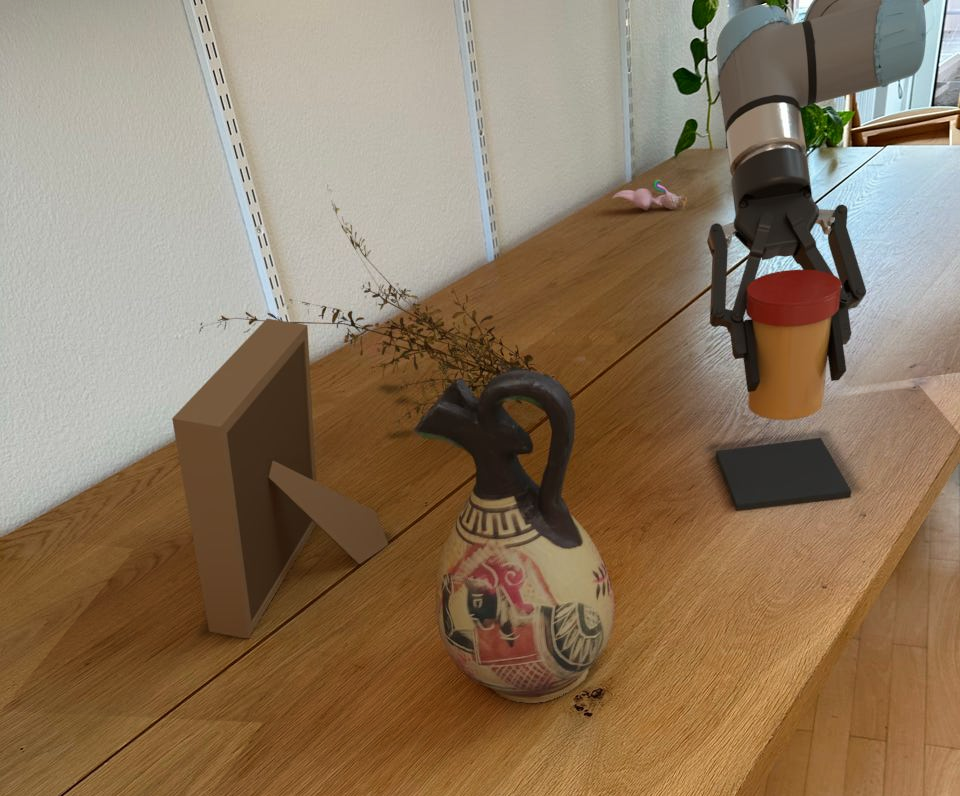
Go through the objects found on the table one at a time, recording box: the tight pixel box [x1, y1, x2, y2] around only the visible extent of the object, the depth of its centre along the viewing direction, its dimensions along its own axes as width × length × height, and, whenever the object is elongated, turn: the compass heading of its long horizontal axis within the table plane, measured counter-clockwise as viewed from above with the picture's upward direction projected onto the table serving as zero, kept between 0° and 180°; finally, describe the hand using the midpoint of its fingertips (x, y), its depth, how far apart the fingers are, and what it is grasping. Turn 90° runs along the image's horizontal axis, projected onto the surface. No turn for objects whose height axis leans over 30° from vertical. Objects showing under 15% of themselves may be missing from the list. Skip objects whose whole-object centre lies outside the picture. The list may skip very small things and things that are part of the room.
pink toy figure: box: [611, 179, 688, 211], centre depth 181 cm, size 6×6×15 cm
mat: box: [715, 437, 852, 512], centre depth 101 cm, size 12×12×1 cm
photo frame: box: [171, 318, 389, 639], centre depth 92 cm, size 15×22×25 cm
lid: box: [745, 269, 842, 326], centre depth 89 cm, size 9×9×2 cm
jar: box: [747, 316, 832, 421], centre depth 92 cm, size 8×8×12 cm
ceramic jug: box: [413, 368, 616, 704], centre depth 73 cm, size 17×15×30 cm
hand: (796, 381), depth 91 cm, fingers closed on jar, 8 cm apart
